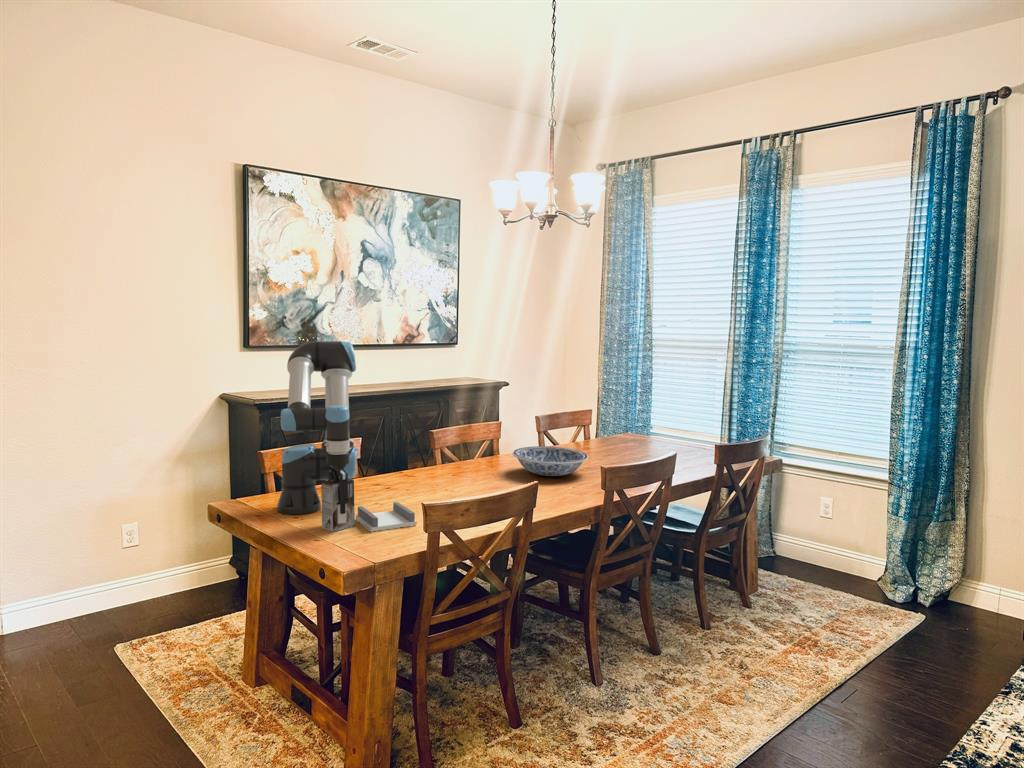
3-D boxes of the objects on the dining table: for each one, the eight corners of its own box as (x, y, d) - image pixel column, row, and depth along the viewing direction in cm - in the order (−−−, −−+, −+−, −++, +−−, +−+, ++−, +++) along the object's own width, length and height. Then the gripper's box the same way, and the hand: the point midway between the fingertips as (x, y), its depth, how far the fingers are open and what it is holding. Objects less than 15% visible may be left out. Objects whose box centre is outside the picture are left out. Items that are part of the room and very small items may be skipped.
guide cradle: (355, 519, 246) (355, 507, 245) (399, 513, 254) (399, 501, 253) (371, 532, 232) (371, 518, 231) (416, 525, 240) (416, 512, 240)
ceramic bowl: (560, 487, 297) (561, 464, 296) (496, 475, 318) (497, 453, 317) (601, 473, 324) (602, 452, 323) (540, 463, 345) (540, 443, 344)
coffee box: (343, 522, 242) (343, 476, 240) (355, 526, 238) (355, 479, 236) (320, 528, 235) (320, 480, 233) (332, 532, 231) (332, 484, 229)
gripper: (317, 447, 241) (318, 513, 243) (335, 459, 223) (336, 529, 225) (339, 446, 245) (340, 510, 247) (358, 456, 227) (359, 526, 229)
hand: (338, 519), depth 236 cm, fingers closed on coffee box, 8 cm apart
